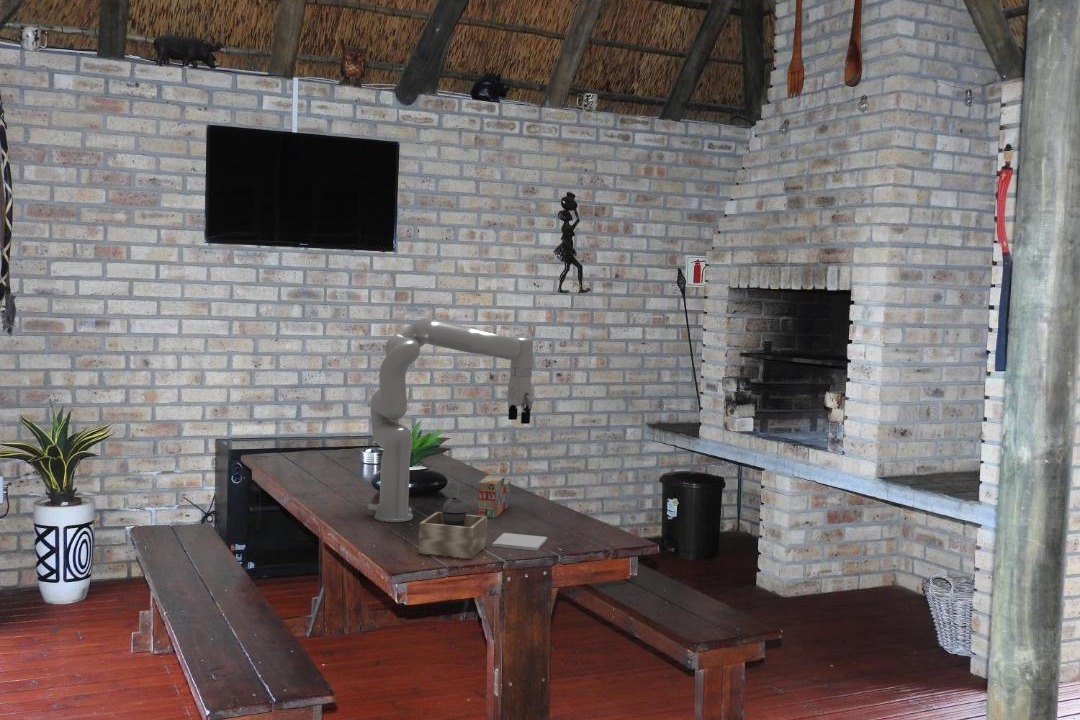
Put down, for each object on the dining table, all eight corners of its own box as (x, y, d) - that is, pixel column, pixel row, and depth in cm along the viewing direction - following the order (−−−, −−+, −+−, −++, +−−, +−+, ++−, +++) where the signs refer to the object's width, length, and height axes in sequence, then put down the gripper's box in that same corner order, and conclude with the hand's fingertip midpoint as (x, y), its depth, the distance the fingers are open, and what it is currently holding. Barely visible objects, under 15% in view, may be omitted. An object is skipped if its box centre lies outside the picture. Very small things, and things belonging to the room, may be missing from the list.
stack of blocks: (492, 504, 387) (493, 470, 386) (509, 506, 386) (511, 471, 385) (477, 517, 366) (478, 481, 365) (495, 518, 365) (496, 482, 364)
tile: (492, 546, 328) (492, 543, 327) (503, 535, 341) (503, 532, 341) (537, 551, 325) (537, 547, 324) (547, 540, 338) (547, 537, 338)
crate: (418, 553, 316) (419, 523, 315) (435, 540, 331) (436, 511, 331) (471, 558, 312) (472, 528, 312) (485, 545, 328) (487, 516, 327)
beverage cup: (440, 546, 325) (443, 480, 324) (465, 546, 326) (467, 481, 324) (440, 552, 318) (442, 485, 316) (465, 553, 319) (467, 486, 317)
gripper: (500, 370, 381) (498, 418, 383) (522, 375, 366) (520, 425, 367) (519, 370, 385) (517, 417, 386) (542, 375, 370) (540, 424, 371)
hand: (518, 421), depth 377 cm, fingers open, 9 cm apart
